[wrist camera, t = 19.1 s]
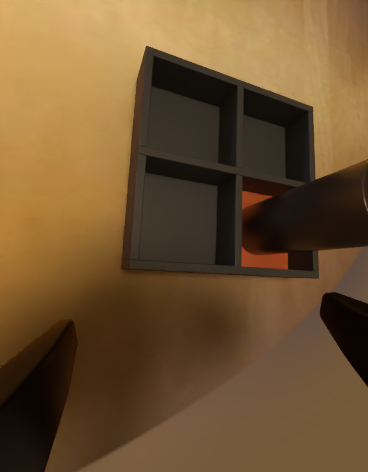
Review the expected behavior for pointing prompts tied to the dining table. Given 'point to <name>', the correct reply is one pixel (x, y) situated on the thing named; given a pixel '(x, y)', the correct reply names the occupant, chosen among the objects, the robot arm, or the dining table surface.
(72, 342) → the robot arm
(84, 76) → the dining table surface
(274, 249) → the pepper grinder
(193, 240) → the tray
